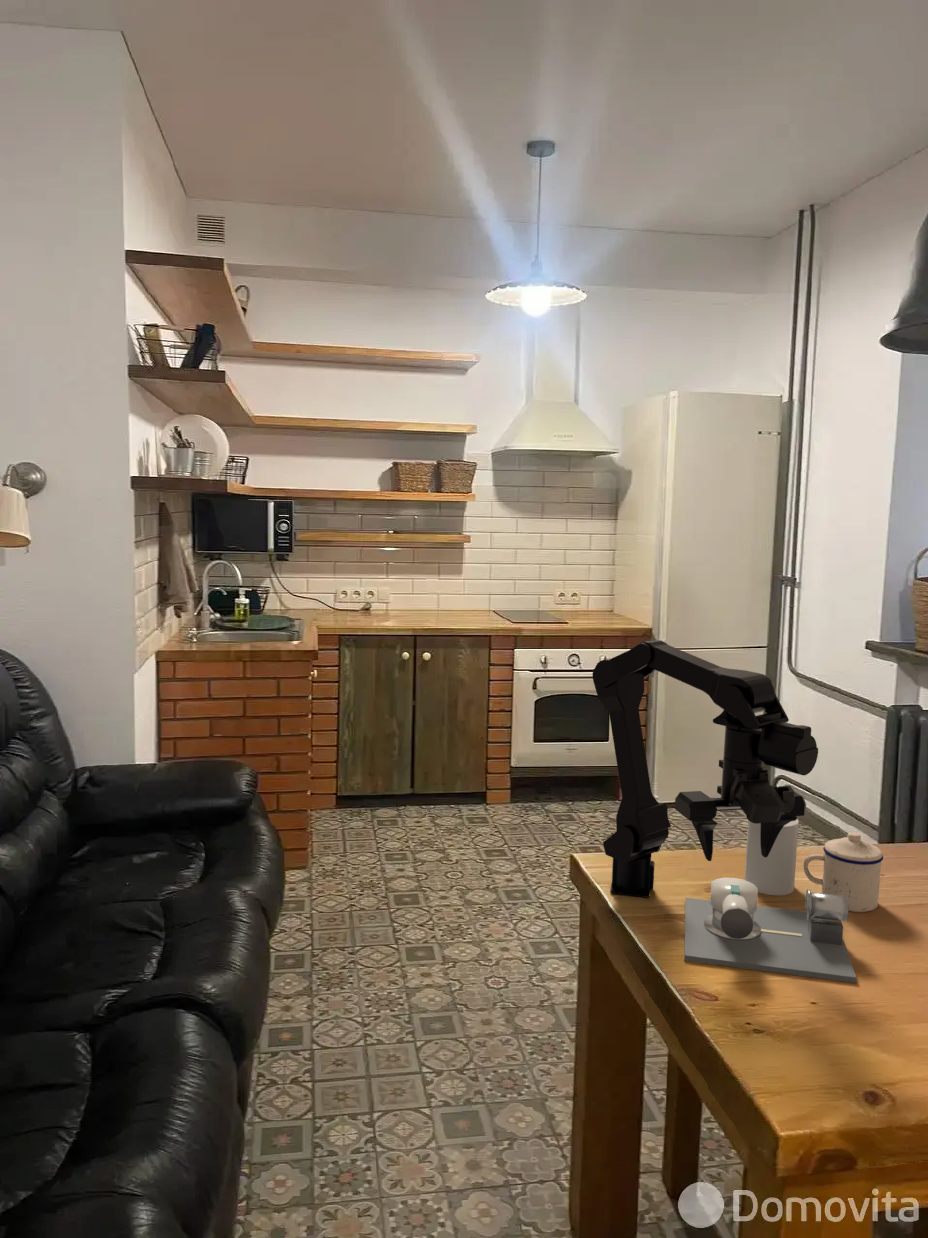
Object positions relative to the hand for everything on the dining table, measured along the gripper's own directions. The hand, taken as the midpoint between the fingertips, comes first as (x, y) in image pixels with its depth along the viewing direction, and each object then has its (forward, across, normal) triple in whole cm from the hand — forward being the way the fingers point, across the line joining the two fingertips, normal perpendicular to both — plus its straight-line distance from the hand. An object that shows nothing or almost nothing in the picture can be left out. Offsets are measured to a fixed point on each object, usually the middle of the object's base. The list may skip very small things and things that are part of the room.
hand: (736, 858), depth 139 cm
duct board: (+12, +4, -3) cm, 13 cm away
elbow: (+8, -1, -3) cm, 9 cm away
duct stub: (+12, 0, 0) cm, 12 cm away
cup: (+12, +15, +15) cm, 25 cm away
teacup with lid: (+12, +24, +8) cm, 28 cm away
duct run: (+12, +12, -6) cm, 18 cm away
